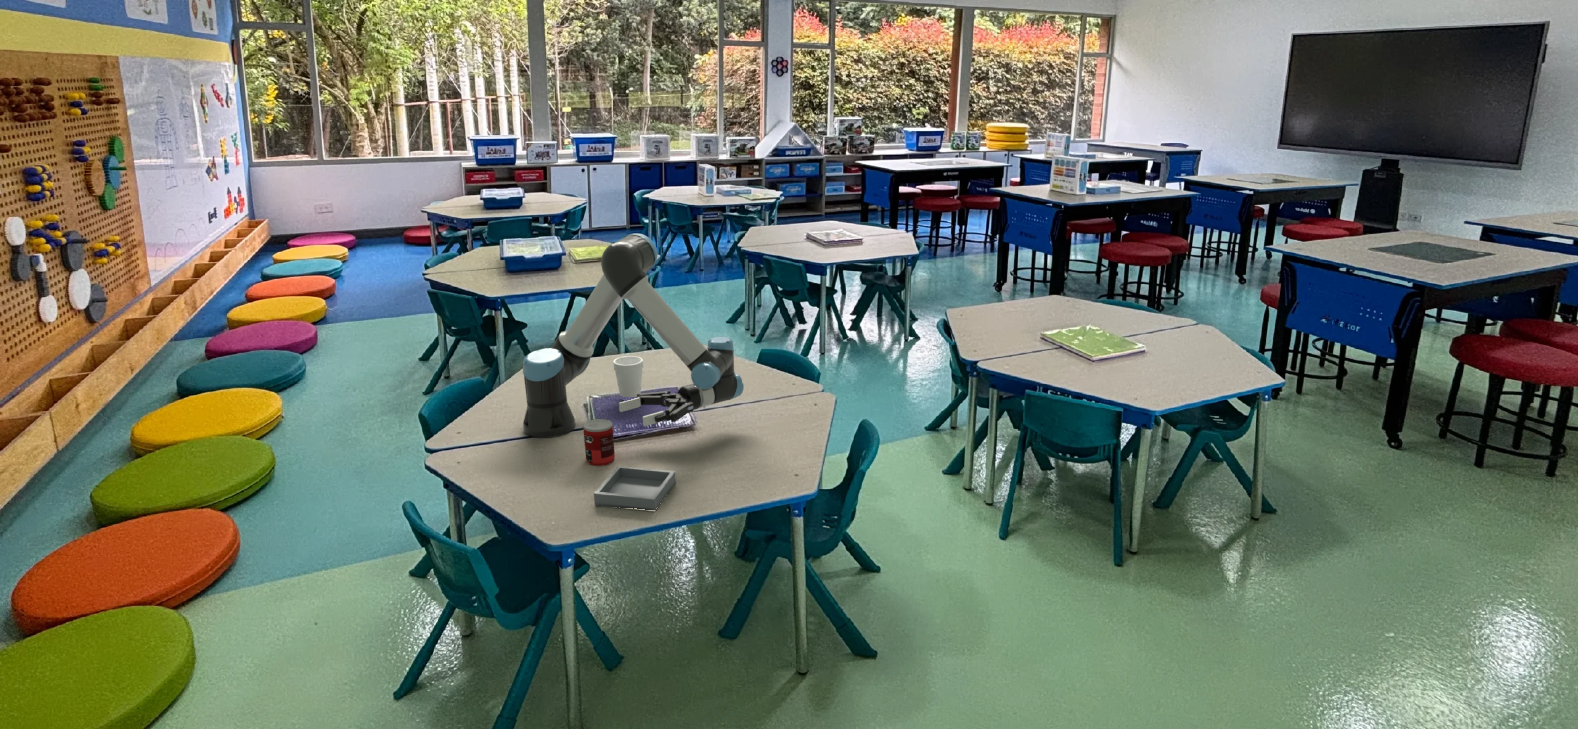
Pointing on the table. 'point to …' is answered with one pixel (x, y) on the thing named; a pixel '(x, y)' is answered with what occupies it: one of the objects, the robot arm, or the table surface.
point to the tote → (635, 488)
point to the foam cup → (629, 375)
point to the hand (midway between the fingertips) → (631, 414)
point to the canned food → (599, 442)
